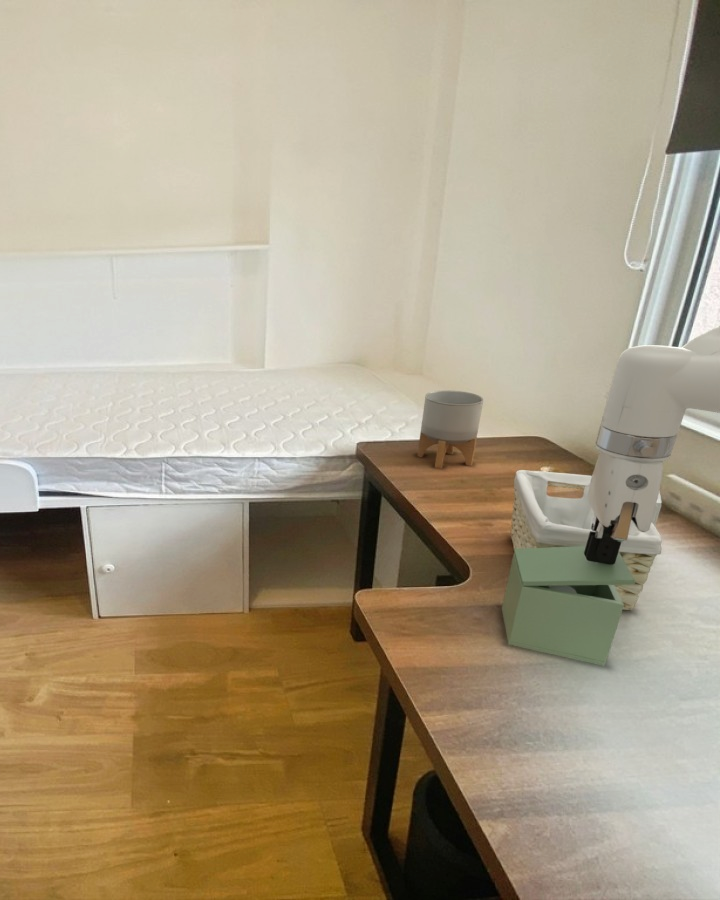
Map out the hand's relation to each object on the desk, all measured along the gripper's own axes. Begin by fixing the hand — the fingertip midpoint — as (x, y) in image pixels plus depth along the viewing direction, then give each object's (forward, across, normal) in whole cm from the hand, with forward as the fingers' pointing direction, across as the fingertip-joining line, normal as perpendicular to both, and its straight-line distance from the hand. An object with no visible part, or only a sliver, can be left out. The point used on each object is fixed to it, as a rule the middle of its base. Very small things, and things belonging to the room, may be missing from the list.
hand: (598, 559), depth 79 cm
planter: (+15, +70, +16) cm, 73 cm away
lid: (+2, 0, +3) cm, 4 cm away
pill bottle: (+14, 0, +3) cm, 14 cm away
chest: (+15, 0, +3) cm, 15 cm away
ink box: (+15, +34, -14) cm, 40 cm away
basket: (+15, +21, -2) cm, 26 cm away
